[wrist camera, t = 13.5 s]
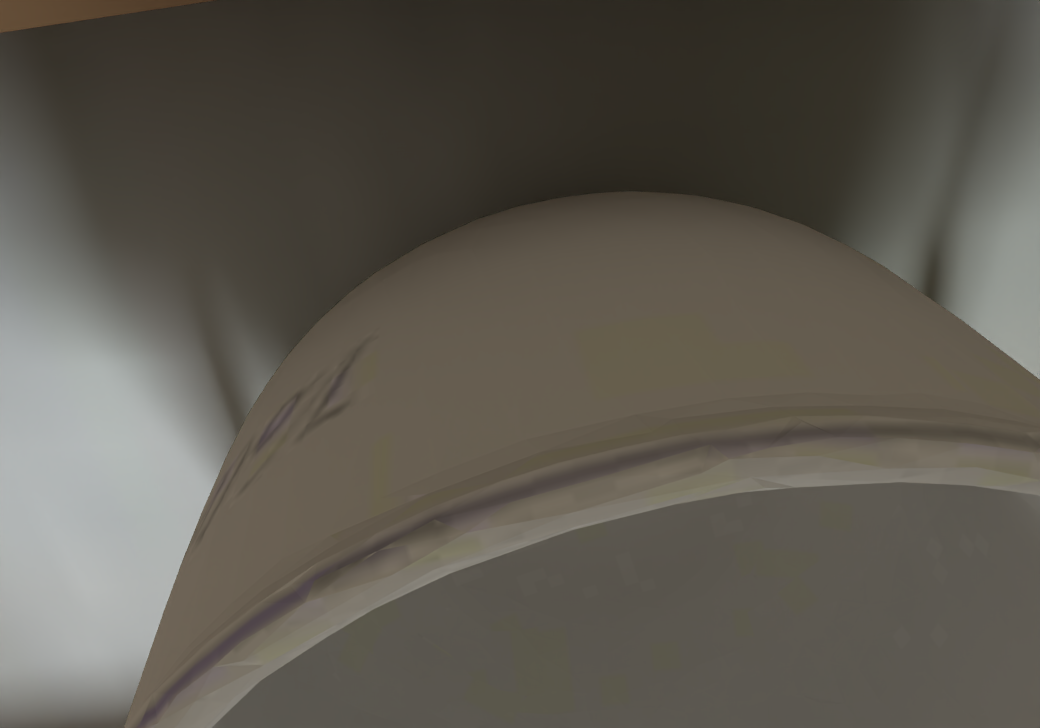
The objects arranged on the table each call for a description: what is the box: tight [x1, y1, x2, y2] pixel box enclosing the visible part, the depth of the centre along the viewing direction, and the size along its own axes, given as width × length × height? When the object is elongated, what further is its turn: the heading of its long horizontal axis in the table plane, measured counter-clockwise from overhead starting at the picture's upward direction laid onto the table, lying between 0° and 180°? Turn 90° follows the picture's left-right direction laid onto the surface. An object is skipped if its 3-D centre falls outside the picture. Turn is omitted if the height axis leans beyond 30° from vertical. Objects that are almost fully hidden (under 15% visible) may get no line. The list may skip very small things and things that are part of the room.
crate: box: [0, 0, 215, 33], centre depth 13 cm, size 25×20×4 cm
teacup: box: [124, 191, 1040, 728], centre depth 11 cm, size 14×11×8 cm
